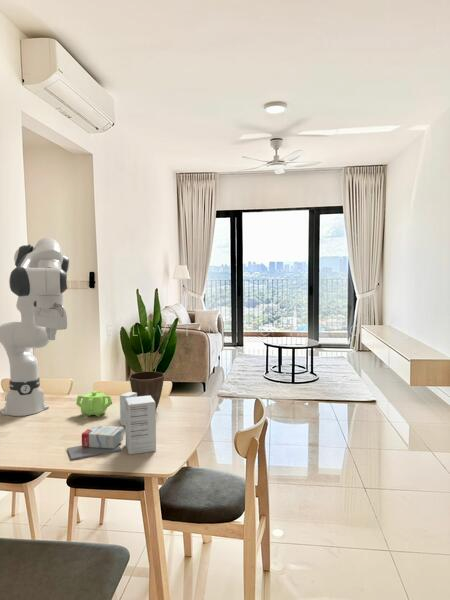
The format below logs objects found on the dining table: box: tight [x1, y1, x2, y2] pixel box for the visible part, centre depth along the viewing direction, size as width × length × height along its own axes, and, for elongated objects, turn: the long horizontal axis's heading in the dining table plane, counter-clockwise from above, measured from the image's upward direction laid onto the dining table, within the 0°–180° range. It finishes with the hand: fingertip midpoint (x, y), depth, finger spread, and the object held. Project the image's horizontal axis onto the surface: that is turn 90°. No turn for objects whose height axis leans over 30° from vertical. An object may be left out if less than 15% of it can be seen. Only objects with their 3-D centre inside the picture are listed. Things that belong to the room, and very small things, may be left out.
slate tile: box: [66, 444, 122, 461], centre depth 142 cm, size 10×16×1 cm, turn 118°
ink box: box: [81, 424, 125, 449], centre depth 146 cm, size 9×5×12 cm
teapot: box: [75, 390, 113, 418], centre depth 179 cm, size 12×12×10 cm
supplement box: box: [124, 396, 157, 455], centre depth 144 cm, size 10×9×17 cm
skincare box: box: [119, 391, 137, 426], centre depth 168 cm, size 6×4×12 cm
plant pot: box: [128, 371, 165, 410], centre depth 183 cm, size 15×15×16 cm
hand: (51, 339), depth 157 cm, fingers closed
